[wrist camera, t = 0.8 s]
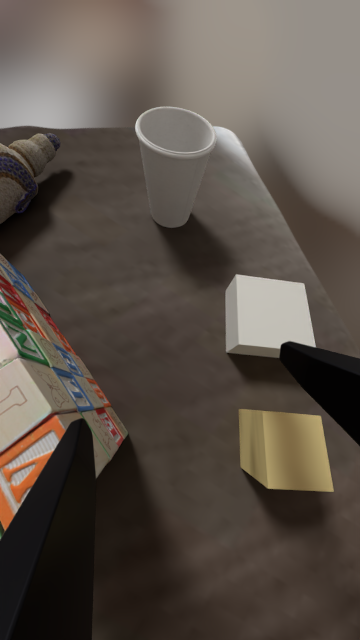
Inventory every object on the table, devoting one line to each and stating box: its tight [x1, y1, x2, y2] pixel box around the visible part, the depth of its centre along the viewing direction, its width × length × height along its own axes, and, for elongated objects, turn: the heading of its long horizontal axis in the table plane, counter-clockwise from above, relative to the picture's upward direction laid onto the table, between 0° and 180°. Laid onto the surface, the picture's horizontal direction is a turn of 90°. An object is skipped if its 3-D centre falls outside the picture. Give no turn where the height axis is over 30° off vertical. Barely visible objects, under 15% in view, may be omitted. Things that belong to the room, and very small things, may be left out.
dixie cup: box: [135, 107, 217, 228], centre depth 25 cm, size 8×8×10 cm
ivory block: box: [225, 275, 316, 358], centre depth 23 cm, size 8×8×4 cm
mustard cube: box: [239, 409, 334, 492], centre depth 18 cm, size 5×5×5 cm
